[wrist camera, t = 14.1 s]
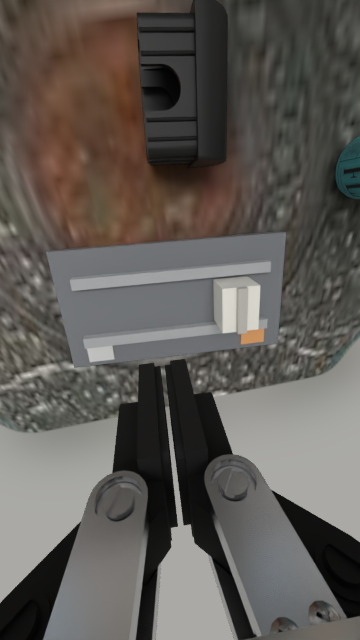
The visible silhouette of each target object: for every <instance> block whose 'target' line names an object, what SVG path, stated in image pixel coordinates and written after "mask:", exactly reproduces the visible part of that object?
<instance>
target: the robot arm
mask: <svg viewBox="0 0 360 640" xmlns="http://www.w3.org/2000/svg"><path fill="white" fill-rule="evenodd" d="M165 371H166V380H167V389H168V399H169V408H170V417H171V426H172V434H173V442H174V451H175V459H176V467H177V475H178V483H179V491H180V499H181V507H182V515H183V523H184V525H189V524H191V529H192V536H193V537H194V542H195V544H197V545H198V546H199V547H200V548H201V549H203V550H204V551H205V552H206V553H207V554H208V556H209V561H210V564H211V567H212V571H213V574H214V577H215V580H216V584H217V587H218V589H219V593H220V596H221V600H222V603H223V606H224V609H225V612H226V616H227V619H228V622H229V625H230V628H231V632H232V634H233V638H234V640H360V542H358V541H357V540H356V539H354V538H353V537H352V536H350V535H348V534H346V533H345V532H343V531H341V530H340V529H338V528H336V527H335V526H332V525H331V524H329V523H328V522H326V521H324V520H322V519H321V518H319V517H317V516H316V515H314V514H312V513H310V512H309V511H307V510H305V509H303V508H302V507H300V506H298V505H296V504H294V503H293V502H291V501H290V500H288V499H286V498H284V497H283V496H281V495H279V494H277V493H276V492H274V491H272V490H271V489H270V488H269V486H268V484H267V483H266V481H265V479H264V478H263V476H262V474H261V473H260V471H259V470H258V468H257V467H256V466H255V465H254V464H253V463H252V462H251V461H249V460H248V459H246V458H244V457H241V456H239V455H233V453H232V450H231V447H230V444H229V442H228V439H227V436H226V433H225V430H224V427H223V424H222V421H221V418H220V415H219V412H218V410H217V407H216V404H215V401H214V398H213V395H212V393H211V392H208V393H201V394H194V393H193V389H192V385H191V381H190V377H189V373H188V369H187V365H186V361H185V359H181V360H173V361H170V365H165ZM177 526H178V524H177V514H176V505H175V496H174V486H173V476H172V468H171V458H170V448H169V438H168V429H167V420H166V412H165V403H164V394H163V386H162V377H161V369H160V366H157V367H155V366H154V363H149V364H141V365H139V387H138V402H134V403H127V404H121V405H120V408H119V416H118V426H117V436H116V445H115V454H114V463H113V473H112V474H110V475H107V476H106V477H105V478H103V479H102V480H101V481H99V483H98V484H97V485H96V486H95V487H94V489H93V490H92V492H91V495H90V497H89V499H88V502H87V505H86V508H85V511H84V515H83V517H82V521H81V522H80V523H79V524H78V525H77V526H76V527H75V528H74V529H73V530H72V531H71V532H70V533H69V534H68V535H67V536H66V537H65V538H64V539H63V540H62V541H61V542H60V543H59V544H58V545H57V546H56V547H55V548H54V549H53V550H52V551H51V552H50V553H49V554H48V555H47V556H46V557H45V558H44V559H43V560H42V561H41V562H40V563H39V564H38V565H37V566H36V567H35V568H34V569H33V570H32V571H31V572H30V573H29V574H28V575H27V576H26V577H25V578H24V579H23V580H22V581H21V582H20V583H19V584H18V585H17V587H15V588H14V589H13V590H12V592H11V593H10V594H9V595H8V596H7V597H6V598H5V599H4V600H3V601H2V602H1V603H0V640H156V629H157V615H158V601H159V588H160V574H161V561H162V560H163V559H164V557H165V556H166V554H167V552H168V551H169V550H170V548H171V540H172V538H171V528H172V527H177Z"/></svg>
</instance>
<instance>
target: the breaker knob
mask: <svg viewBox="0 0 360 640" xmlns="http://www.w3.org/2000/svg"><path fill="white" fill-rule="evenodd" d="M213 290H214V320H215V322H216V323H217V325H218V327H219V328H220V330H221V332H222V333H231V332H237V334H245V333H247V331H249V330H258V328H259V306H260V285H259V284H258V283H257V282H255V281H254V280H252V279H251V278H249V277H248V276H243V277H232V278H222V279H213Z"/></svg>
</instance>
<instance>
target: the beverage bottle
mask: <svg viewBox="0 0 360 640" xmlns="http://www.w3.org/2000/svg"><path fill="white" fill-rule="evenodd" d="M335 176H336V183H337V186H338V188H339V189H340V191H341V192H342V193H343V194H345V195H346V196H347V197H348V198H349V197H350V199H351V198H353V199H360V136H359V137H357V138H356V139H354V140H353V141H352V142H351V143H349V144H348V145H347V147H346V148H345V149H344V150H343V152H342V154H341V155H340V157H339V160H338V162H337V166H336V174H335ZM357 201H358V200H357Z"/></svg>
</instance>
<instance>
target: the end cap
mask: <svg viewBox="0 0 360 640" xmlns="http://www.w3.org/2000/svg"><path fill="white" fill-rule="evenodd" d="M137 28H138V33H137V35H138V53H139V69H140V81H141V92H142V104H143V116H144V128H145V140H146V152H147V160H148V163H149V164H150V165H170V164H188V168H198V167H207V166H214V165H218V164H222V163H224V162H225V161H226V136H227V40H228V16H227V13H226V10H225V8H224V7H223V6H222V5H221V4H220V3H219V2H217V1H216V0H193V3H192V7H191V11H190V13H137Z"/></svg>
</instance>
